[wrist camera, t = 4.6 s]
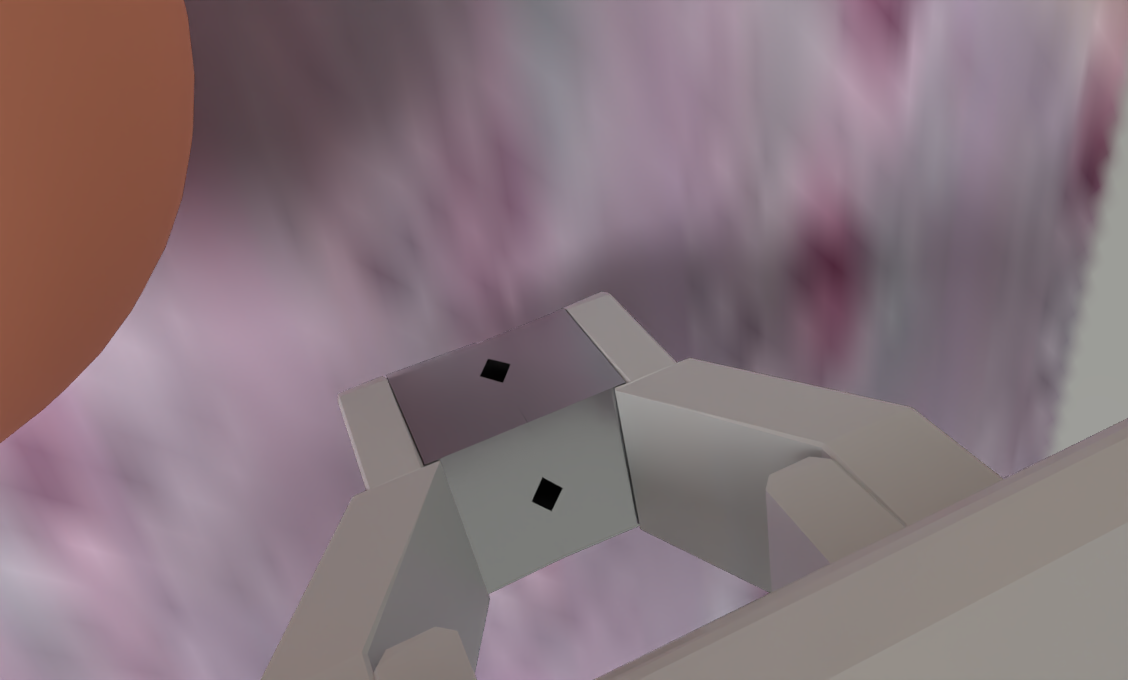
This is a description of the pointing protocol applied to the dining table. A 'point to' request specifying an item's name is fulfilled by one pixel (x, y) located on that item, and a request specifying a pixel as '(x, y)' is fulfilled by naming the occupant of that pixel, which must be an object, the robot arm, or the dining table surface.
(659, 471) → the robot arm
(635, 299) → the dining table surface
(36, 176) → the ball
